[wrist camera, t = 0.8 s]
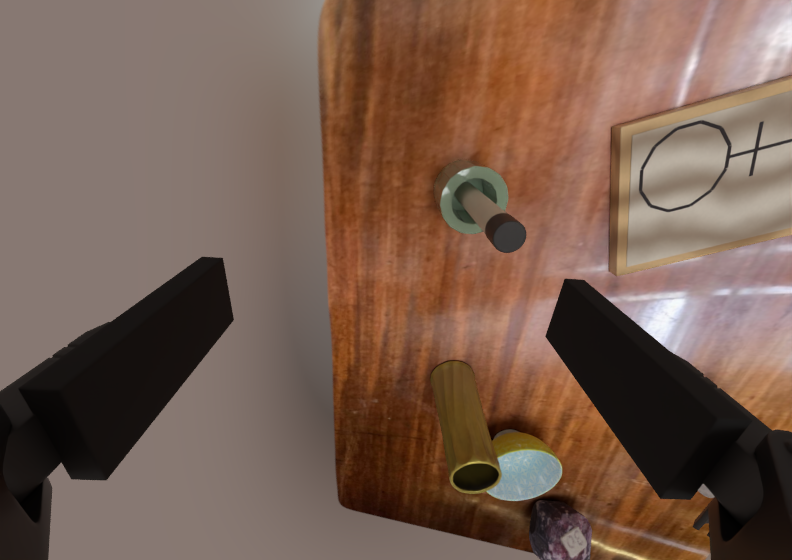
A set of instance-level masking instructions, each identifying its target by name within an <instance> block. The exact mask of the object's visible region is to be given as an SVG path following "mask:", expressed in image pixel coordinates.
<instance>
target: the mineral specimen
mask: <svg viewBox="0 0 792 560" xmlns="http://www.w3.org/2000/svg"><path fill="white" fill-rule="evenodd" d="M591 532H592V530H591V526H590V524H589V522H588V520H587V519H586V518H585V517H584V516H583V515H582V514H580V513H579V512H577V511H576V510H574V509H573V508H572V507H570V506H569V505H567V504H566V503H564V502H558V501H543V500H539V501H537V502H536V503H535V504H534V506H533V509H532V514H531V521H530V530H529V538H530V543H531V546H532V549H533V552H534V553H535V555H537V556H538V557H539V558H540V559H541V560H590V550H591V535H592V533H591Z"/></svg>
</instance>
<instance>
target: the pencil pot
mask: <svg viewBox="0 0 792 560" xmlns="http://www.w3.org/2000/svg"><path fill="white" fill-rule="evenodd" d="M463 182H469V183H471V184H472V185H473V186H474V187H476V188H477V189H478V190H479V191H480V192H482V193H483V194H484V195H485V196H487V197H488V198H489V199H490V200H491V201H493V202H494V203H495V204H496V205H498V206H499V207H500V208H501V209H502V210H504V211H505V209H506V206H507V202H508V191H507V186H506V184H505V182H504V180H503V179H502V177H501V176H500V174H498V173H497V172H495V171H493V170H492V169H490V168H489V167H487V166H485V165H483V164H481V163H479V162H477V161H473V160H467V159H463V160H457V161H454V162H452V163H450V164H449V165H447V166H446V167H445V168H443V170H442V171H441V172H440V173H439V175H438V176H437V178H436V181H435V184H434V199H435V202H436V205H437V207H438V209H439V211H440V213H441V215H442V216H443V218H444V220H445V221H446V222H447V224H448V225H449V226H450V227H451V228H453V229H455V230H456V231H458V232H461V233H466V234H476V233H480V232H483V231H482V229H481V228H480V227H479V226H478V224H477V223H476V222H475V221H474V219H473V218H472V217H471V216H470V215H469V213H468V212H467V211H466V210H465V208H464V207H463V206H462V205H461V204H460V202H459V201H458V200H457V199H456V197H455V194H454V192H455V191H456V189H457V188H458V186H459V185H461V184H462V183H463Z"/></svg>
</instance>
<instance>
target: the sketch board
mask: <svg viewBox="0 0 792 560" xmlns="http://www.w3.org/2000/svg"><path fill="white" fill-rule="evenodd" d="M789 235H792V75H791V76H787V77H784V78H781V79H777V80H774V81H770V82H767V83H763V84H760V85H756V86H753V87H749V88H746V89H742V90H739V91H735V92H732V93H728V94H725V95H721V96H718V97H714V98H711V99H707V100H704V101H700V102H697V103H693V104H690V105H686V106H683V107H679V108H676V109H672V110H669V111H665V112H662V113H658V114H655V115H651V116H648V117H644V118H641V119H637V120H634V121H630V122H627V123H623V124H620V125H616V126H613V127H612V137H611V190H610V244H609V271H610V272H611V273H613V274H614V275H615V276H620V275H624V274H629V273H633V272H637V271H641V270H645V269H650V268H654V267H658V266H662V265H667V264H671V263H675V262H679V261H683V260H688V259H692V258H696V257H700V256H704V255H709V254H713V253H717V252H721V251H725V250H730V249H734V248H738V247H742V246H746V245H751V244H755V243H759V242H763V241H767V240H772V239H776V238H780V237H784V236H789Z"/></svg>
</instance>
